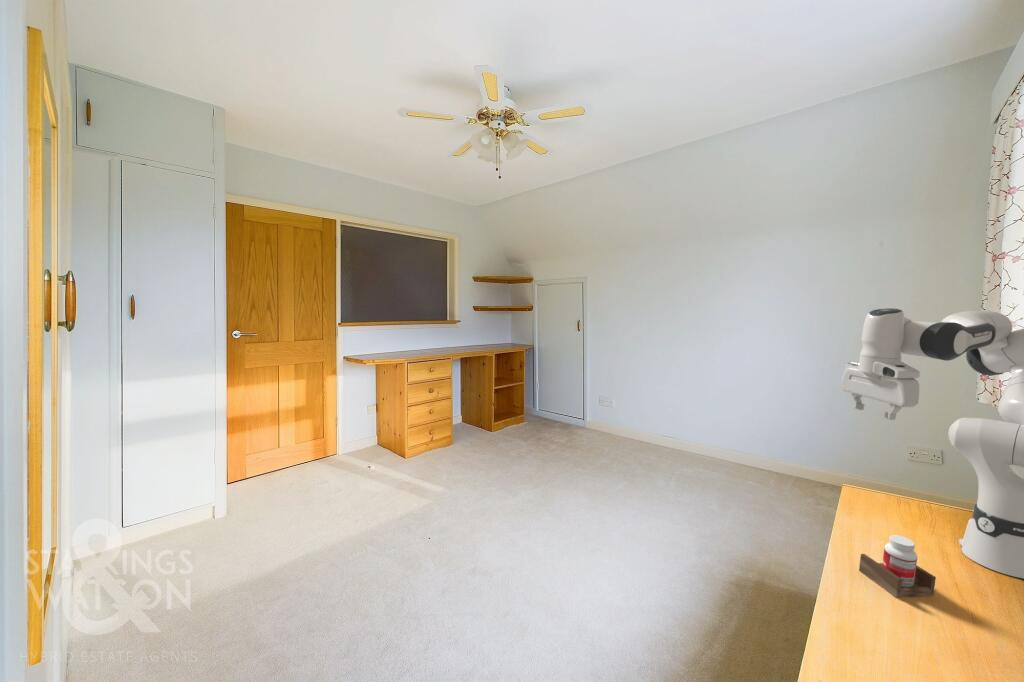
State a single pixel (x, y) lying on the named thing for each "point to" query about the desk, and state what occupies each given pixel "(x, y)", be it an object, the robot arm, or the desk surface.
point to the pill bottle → (901, 559)
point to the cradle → (897, 579)
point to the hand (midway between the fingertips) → (873, 414)
